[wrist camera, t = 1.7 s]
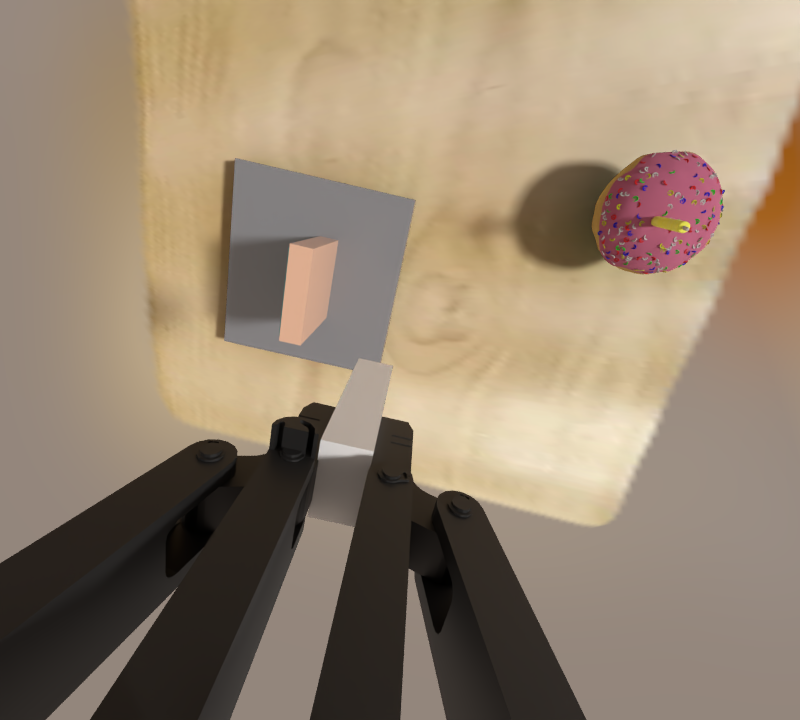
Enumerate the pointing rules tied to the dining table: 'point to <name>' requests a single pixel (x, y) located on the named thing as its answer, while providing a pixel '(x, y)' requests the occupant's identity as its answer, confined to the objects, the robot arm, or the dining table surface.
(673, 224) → the cupcake
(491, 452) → the dining table surface
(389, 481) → the robot arm
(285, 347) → the board
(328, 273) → the tile
